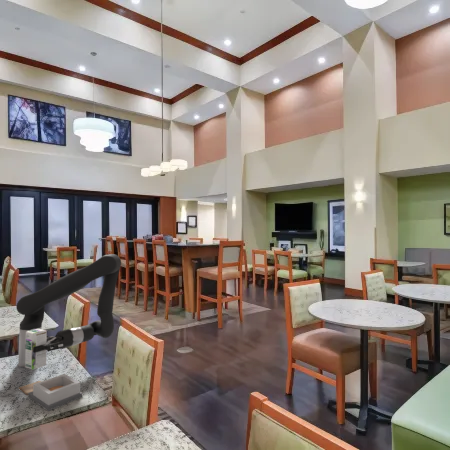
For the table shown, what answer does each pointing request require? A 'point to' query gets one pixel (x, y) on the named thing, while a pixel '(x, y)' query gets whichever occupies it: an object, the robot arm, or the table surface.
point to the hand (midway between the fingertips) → (29, 348)
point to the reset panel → (55, 392)
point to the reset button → (55, 388)
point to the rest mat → (28, 388)
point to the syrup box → (32, 340)
